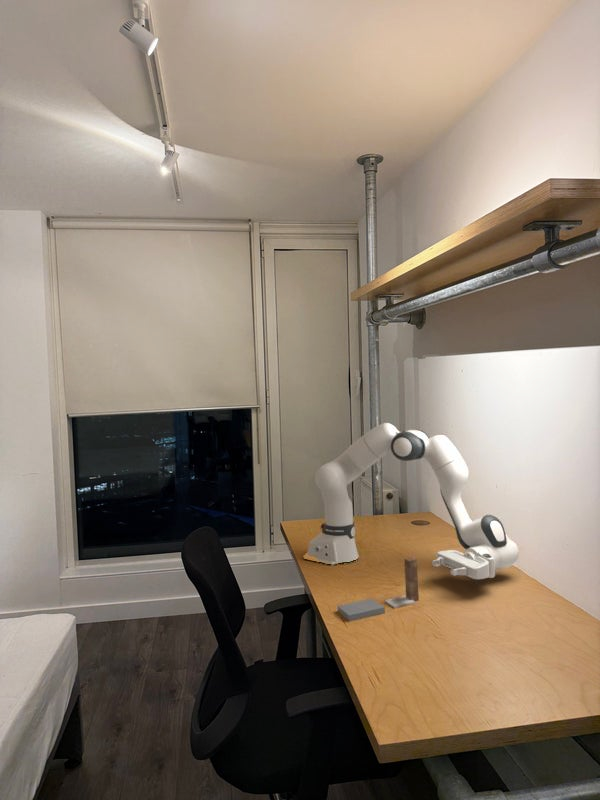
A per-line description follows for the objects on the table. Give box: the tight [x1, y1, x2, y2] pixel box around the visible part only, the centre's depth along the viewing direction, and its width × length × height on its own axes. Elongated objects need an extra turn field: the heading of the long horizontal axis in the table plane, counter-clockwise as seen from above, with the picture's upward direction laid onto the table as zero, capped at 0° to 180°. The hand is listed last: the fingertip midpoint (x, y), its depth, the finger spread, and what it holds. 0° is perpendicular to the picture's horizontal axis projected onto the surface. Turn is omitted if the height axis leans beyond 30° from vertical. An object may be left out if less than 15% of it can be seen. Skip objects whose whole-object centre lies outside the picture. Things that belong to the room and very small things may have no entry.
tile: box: [337, 598, 386, 622], centre depth 172 cm, size 2×8×12 cm
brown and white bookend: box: [384, 557, 420, 609], centre depth 178 cm, size 10×6×13 cm, turn 113°
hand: (442, 568), depth 184 cm, fingers open, 8 cm apart
